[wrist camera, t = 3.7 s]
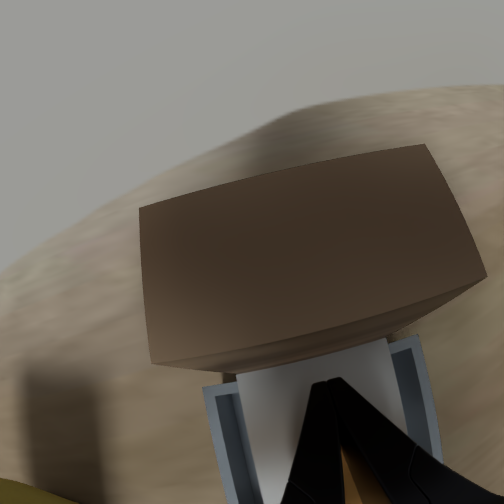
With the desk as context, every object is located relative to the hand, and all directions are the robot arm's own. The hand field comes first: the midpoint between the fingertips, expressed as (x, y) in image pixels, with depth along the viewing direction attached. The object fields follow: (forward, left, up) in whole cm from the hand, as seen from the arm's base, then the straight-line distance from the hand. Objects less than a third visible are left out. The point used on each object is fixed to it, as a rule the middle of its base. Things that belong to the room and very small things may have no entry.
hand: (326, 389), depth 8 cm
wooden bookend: (-1, +1, -8) cm, 9 cm away
